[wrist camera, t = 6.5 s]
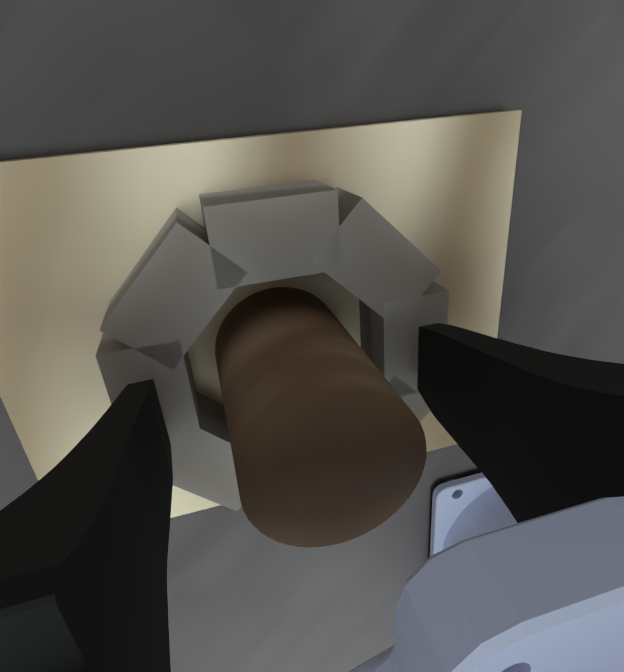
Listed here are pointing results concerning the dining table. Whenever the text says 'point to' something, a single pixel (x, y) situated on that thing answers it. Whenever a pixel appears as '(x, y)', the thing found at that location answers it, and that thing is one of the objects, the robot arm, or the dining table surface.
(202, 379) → the socket board
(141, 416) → the robot arm
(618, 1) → the dining table surface
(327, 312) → the walnut peg
